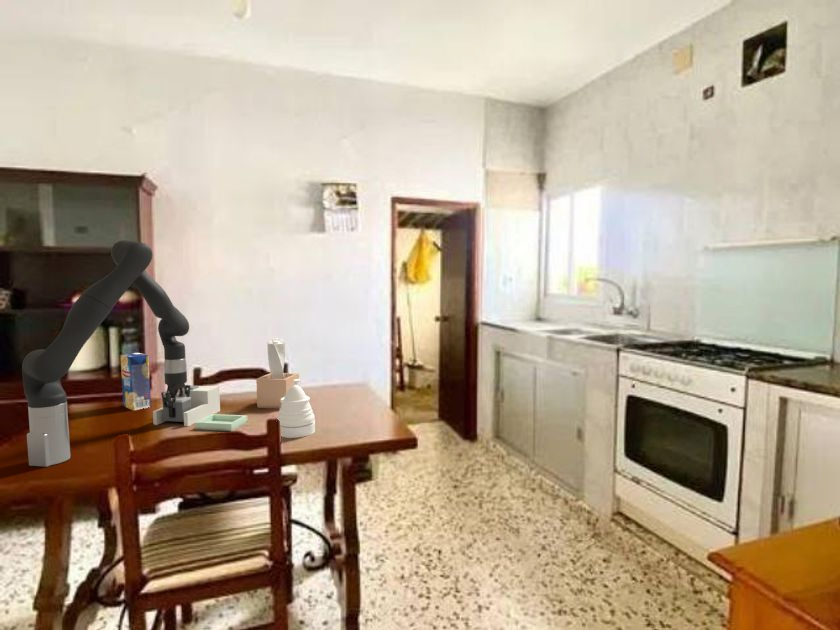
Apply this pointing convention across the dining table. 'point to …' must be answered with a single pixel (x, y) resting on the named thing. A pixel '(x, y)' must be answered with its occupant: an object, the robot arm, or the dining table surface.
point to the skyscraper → (276, 358)
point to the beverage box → (135, 381)
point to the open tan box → (273, 390)
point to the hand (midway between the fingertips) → (177, 415)
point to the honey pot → (296, 413)
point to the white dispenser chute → (196, 405)
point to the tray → (221, 422)
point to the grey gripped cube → (178, 409)
